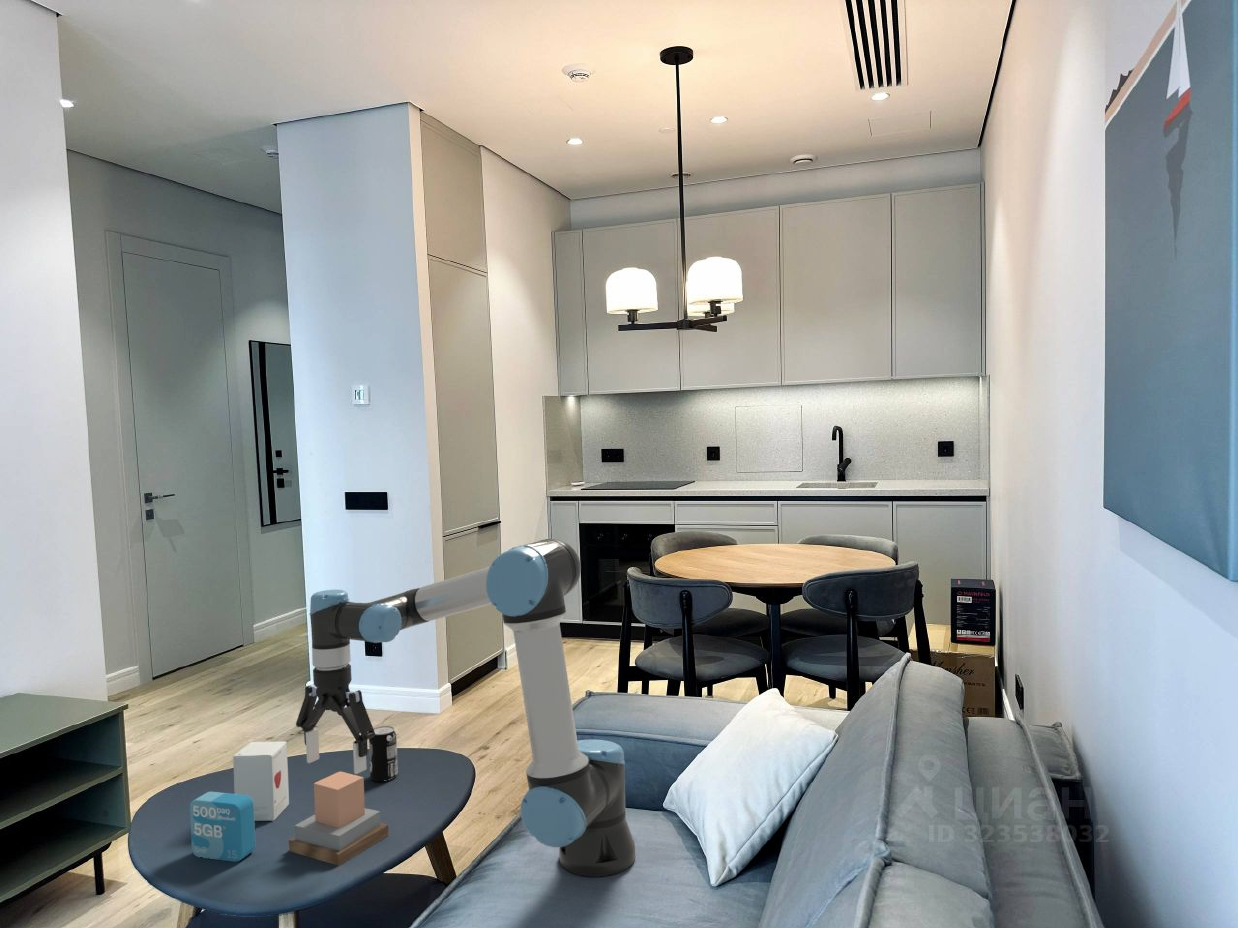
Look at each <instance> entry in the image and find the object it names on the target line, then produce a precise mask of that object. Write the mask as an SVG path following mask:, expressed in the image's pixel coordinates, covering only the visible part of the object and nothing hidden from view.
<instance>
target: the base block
mask: <svg viewBox="0 0 1238 928" xmlns="http://www.w3.org/2000/svg"><path fill="white" fill-rule="evenodd" d="M388 835H389V824H386V823H383V822H380V826H378V827H377V828H375V829H374V830H372V831H370V832H369V833H367V834H366V835H364V836H362V837H361V838H359V839H358V840H356V841H355V842H353V843H351V844H350V845H348V846H347V847H345V848H343V849H342V850H340V851H339V850H335V849H331V848H327V847H323V846H318V845H314V844H310V843H306V842H302V841H298V840H295V836H293V837H291V838H290V839H288V849H289V850H288V851H289V852H291V853H294V854H297V855H300V856H305V857H307V858H311V859H314V860H318V861H320V862H321V861H322V862H323V863H324V862H325V863H328V864H332V865H334V866H338V867H339V866H341V865H343V864H344V863H346V862H348V861H350V860H351V859H352V858H354V857H356V856H357V855H359V854H361V853H362V852H364V851H366V850H367V849H369V848H371V847H373V845H375V844H378V842H380V840H381V841H382V840H384V839H386V838H387V837H389V836H388ZM386 836H387V837H386ZM385 837H386V838H385Z"/></svg>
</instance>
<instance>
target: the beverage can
mask: <svg viewBox="0 0 1238 928" xmlns="http://www.w3.org/2000/svg"><path fill="white" fill-rule="evenodd" d="M373 729H374V732H375V736H374V737H372V738H370V739H368V750H369V751H368V753H369V772H370V773H369V775H370V778H371V779H372V780H373V781H374V780H375V782H378V781H384V780H389V779H391V778H393V777H395V776H398V774H399V771H398V770H399V769H398V765H399V764H398V744H397V733H396V731H395V727H394V726H391V725H380V726H376V727H373ZM395 778H396V777H395ZM389 781H390V780H389ZM384 782H385V781H384Z"/></svg>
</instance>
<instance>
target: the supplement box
mask: <svg viewBox="0 0 1238 928" xmlns="http://www.w3.org/2000/svg"><path fill="white" fill-rule="evenodd" d="M232 759H233V762H232V763H233V785H234V786H233V788H234V790H233V791H234V793H233V794H239V795H248V796H250V797H251V798H252V800H253V803H254V822H259V821H261V822H264V821H265V822H266V821H271V822H274V821H275V820H276V819H277V818H278V817H279V816H280V815H281V813H282V812H283V811H284V810H285V809H286V808H287V807H288V806H289V805H290V796H289V795H290V794H289V791H290V790H289V789H290V788H289V767H288V743H287V741H251V742H249V743H248V744H246V745H245V746H244V747H242V748H240V750H239V751H238V752H236V753H235V754H234V755H233V757H232Z"/></svg>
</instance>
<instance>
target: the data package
mask: <svg viewBox="0 0 1238 928" xmlns="http://www.w3.org/2000/svg"><path fill="white" fill-rule="evenodd" d="M189 815H190V816H189V817H190V818H189V819H190V839H191V851H192V854H193V855H194V856H195V857H197V858H200V857H203V858H202V859H208V858H209V859H210V860H218V861H223V862H232V863H233V862H234V863H238V862H240V861H241V860H243V859H244V858H246V857H247V856H249V854H251V853H252V852H254V850H255V849H256V828H255V827H256V826H255V825H256V824H255V821H254V803H253V800H252V798H251V797H250V796H248V795H239V794H234V793H228V792H219V791H207V792H206V793H204V794H202V795H200V796H199V797H197V798H195V799H194V800H193V799H192V801H191V802H190V804H189ZM209 859H208V860H209Z"/></svg>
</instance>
